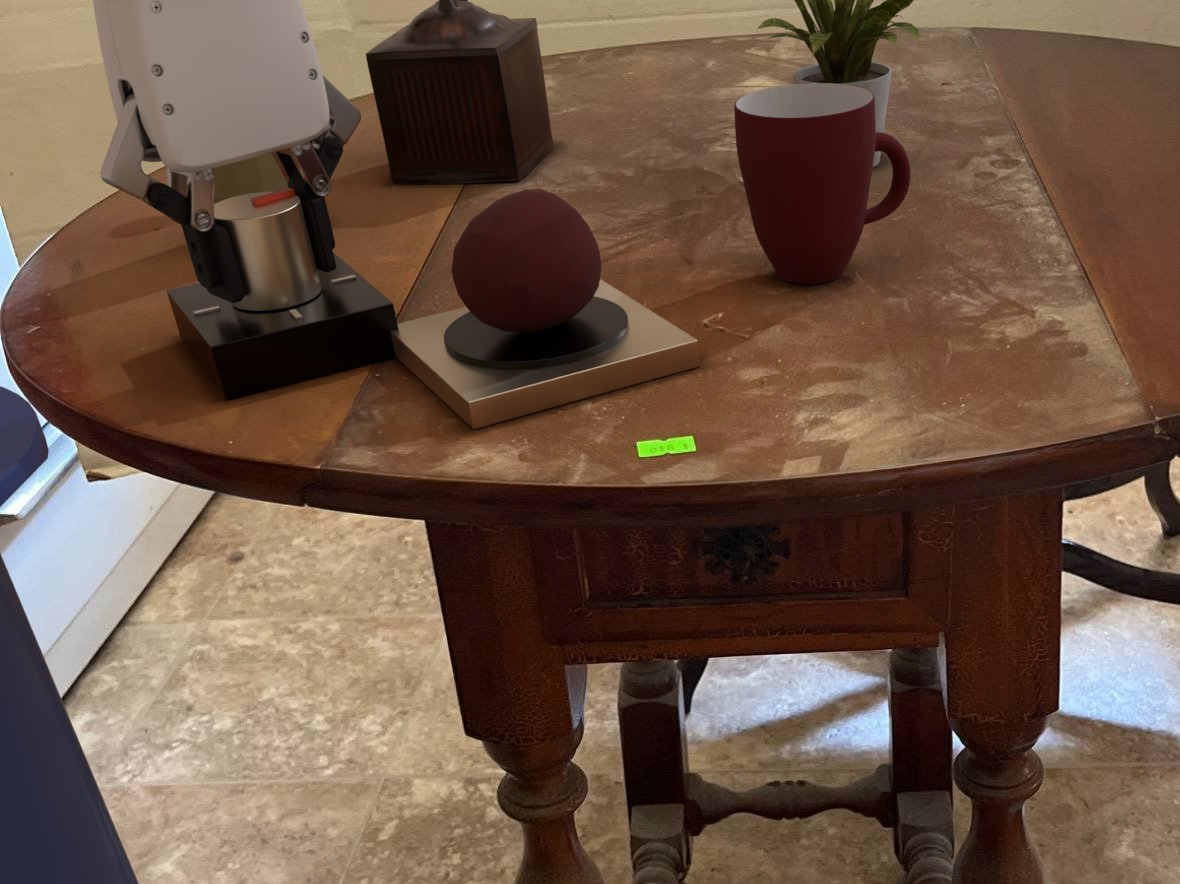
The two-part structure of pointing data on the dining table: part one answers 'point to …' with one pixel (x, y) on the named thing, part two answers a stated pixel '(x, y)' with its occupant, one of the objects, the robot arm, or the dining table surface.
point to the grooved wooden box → (461, 96)
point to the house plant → (848, 46)
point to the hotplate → (541, 357)
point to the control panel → (286, 333)
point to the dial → (270, 249)
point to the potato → (526, 263)
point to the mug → (813, 174)
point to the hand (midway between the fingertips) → (272, 278)
